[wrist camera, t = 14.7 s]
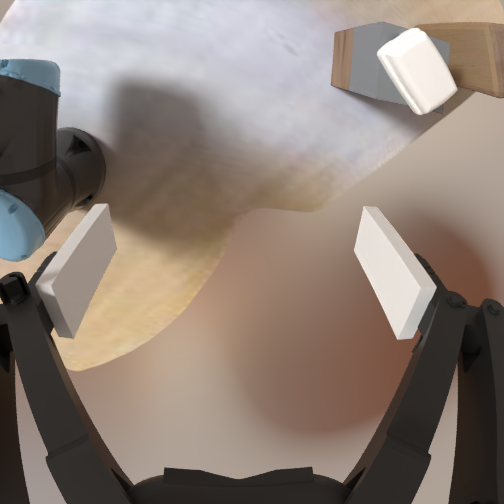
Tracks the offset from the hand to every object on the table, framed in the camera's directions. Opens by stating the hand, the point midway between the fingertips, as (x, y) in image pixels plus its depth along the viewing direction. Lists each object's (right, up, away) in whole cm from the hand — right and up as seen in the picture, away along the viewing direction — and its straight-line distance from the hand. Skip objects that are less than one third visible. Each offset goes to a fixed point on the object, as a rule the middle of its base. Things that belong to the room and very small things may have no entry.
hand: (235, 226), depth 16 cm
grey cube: (+18, +23, +19) cm, 35 cm away
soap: (+19, +18, +11) cm, 29 cm away
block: (+33, +33, +24) cm, 53 cm away
